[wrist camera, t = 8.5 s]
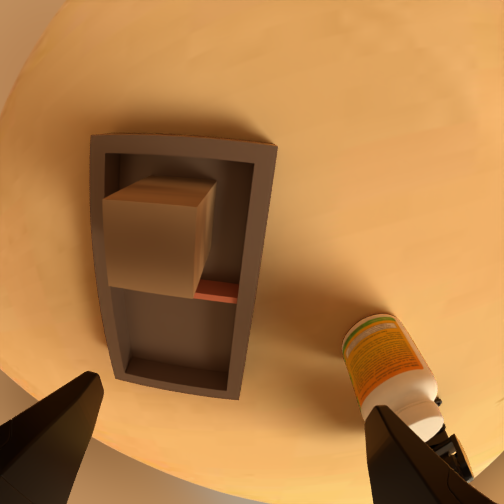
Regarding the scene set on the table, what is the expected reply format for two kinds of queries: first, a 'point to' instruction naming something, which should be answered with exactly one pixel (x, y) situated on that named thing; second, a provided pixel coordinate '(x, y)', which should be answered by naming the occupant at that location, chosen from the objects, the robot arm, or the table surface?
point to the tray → (214, 273)
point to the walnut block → (159, 234)
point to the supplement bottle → (391, 373)
